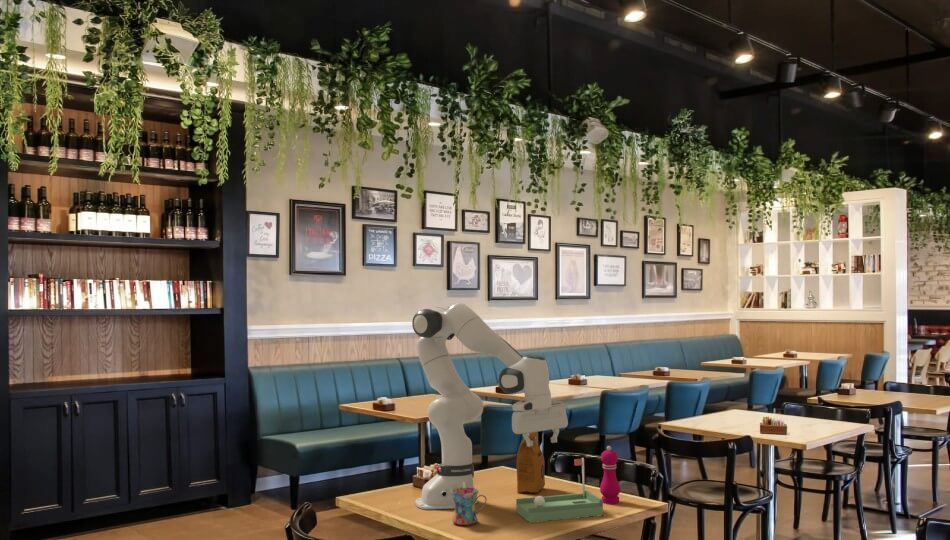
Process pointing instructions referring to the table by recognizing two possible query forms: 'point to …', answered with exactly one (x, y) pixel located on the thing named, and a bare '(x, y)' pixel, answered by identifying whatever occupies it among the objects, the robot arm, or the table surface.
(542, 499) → the ball
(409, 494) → the table surface
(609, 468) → the pepper mill
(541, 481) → the coffee package
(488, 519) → the table surface
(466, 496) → the mug
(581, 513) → the green
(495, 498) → the table surface
